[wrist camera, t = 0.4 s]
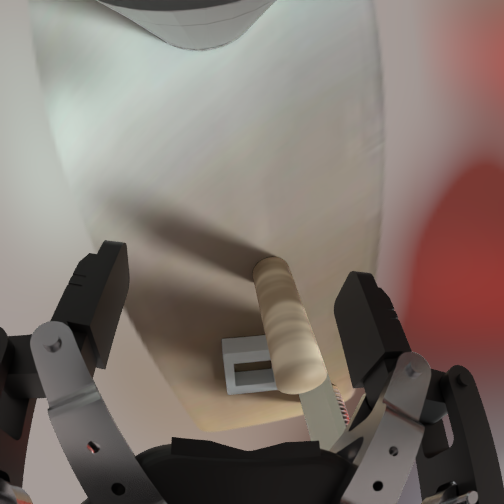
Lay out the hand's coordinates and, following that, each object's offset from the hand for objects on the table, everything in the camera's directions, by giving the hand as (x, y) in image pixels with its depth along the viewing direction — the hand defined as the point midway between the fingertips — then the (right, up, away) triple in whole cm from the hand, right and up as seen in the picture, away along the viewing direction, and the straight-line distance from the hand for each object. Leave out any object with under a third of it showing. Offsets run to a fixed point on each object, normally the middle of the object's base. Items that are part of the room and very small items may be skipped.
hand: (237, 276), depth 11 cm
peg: (+3, -1, +23) cm, 23 cm away
